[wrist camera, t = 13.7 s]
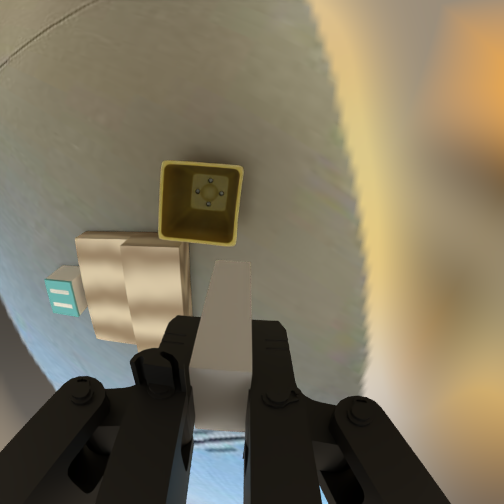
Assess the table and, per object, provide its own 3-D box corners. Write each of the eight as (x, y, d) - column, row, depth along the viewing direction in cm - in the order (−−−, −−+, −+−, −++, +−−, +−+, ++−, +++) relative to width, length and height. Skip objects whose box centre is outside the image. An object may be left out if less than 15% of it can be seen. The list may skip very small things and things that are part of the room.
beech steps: (86, 231, 40) (66, 244, 34) (188, 233, 40) (178, 247, 34) (104, 327, 46) (91, 347, 40) (194, 337, 46) (188, 360, 41)
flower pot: (180, 156, 36) (160, 159, 28) (245, 161, 37) (244, 166, 28) (176, 219, 39) (157, 239, 31) (238, 225, 40) (235, 247, 31)
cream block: (69, 282, 36) (87, 266, 42) (44, 279, 36) (63, 265, 42) (78, 316, 38) (94, 298, 44) (53, 312, 38) (69, 295, 44)
